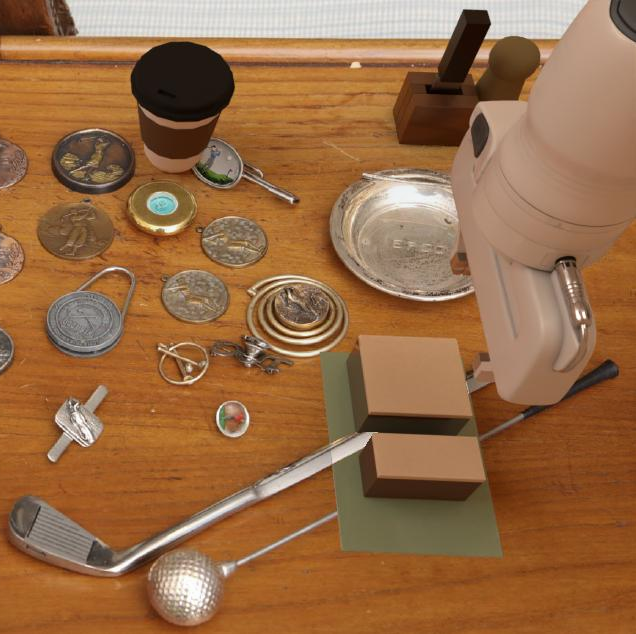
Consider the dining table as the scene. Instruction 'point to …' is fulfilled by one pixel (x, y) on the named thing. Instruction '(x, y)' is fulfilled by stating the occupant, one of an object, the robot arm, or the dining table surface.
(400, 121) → the knife block
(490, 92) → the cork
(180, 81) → the coffee cup
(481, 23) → the knife
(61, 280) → the dining table surface
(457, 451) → the tan rectangular block
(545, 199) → the robot arm
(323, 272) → the dining table surface
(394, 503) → the green board with blocks
